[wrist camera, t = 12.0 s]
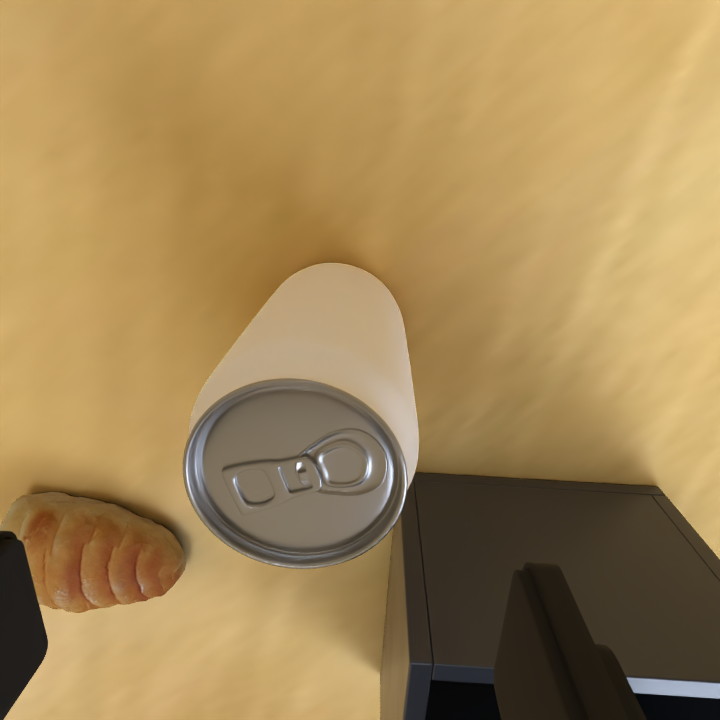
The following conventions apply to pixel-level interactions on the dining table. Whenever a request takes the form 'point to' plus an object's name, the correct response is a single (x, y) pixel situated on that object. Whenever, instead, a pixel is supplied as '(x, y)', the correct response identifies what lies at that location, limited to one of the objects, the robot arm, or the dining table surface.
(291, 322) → the can
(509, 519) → the bin
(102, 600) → the pastry
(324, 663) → the dining table surface
